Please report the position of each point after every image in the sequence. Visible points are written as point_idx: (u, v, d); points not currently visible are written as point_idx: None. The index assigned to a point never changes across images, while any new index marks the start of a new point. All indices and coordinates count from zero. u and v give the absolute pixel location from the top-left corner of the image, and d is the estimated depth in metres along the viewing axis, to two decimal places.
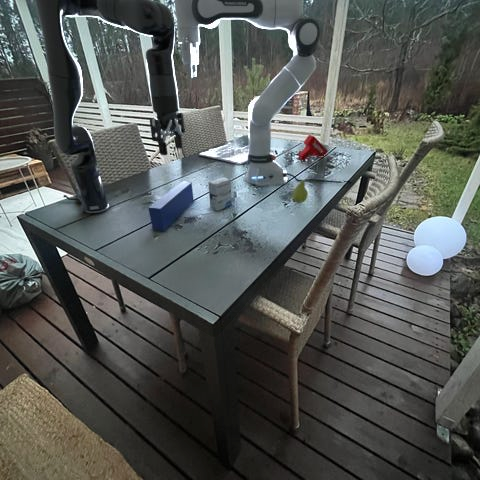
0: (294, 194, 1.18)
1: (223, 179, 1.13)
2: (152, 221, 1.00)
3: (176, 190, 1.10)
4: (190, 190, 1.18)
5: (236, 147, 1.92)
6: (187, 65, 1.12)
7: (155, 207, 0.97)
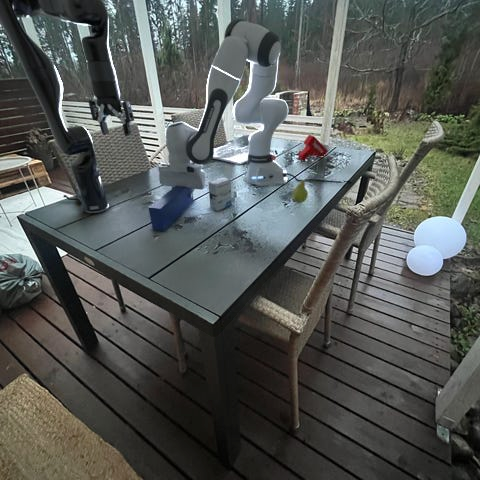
0: (294, 194, 1.18)
1: (223, 179, 1.13)
2: (152, 221, 1.00)
3: (176, 190, 1.10)
4: None
5: (236, 147, 1.92)
6: None
7: (155, 207, 0.97)
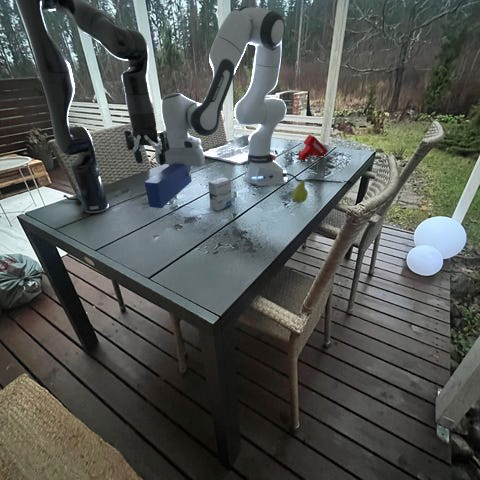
0: (294, 194, 1.18)
1: (223, 179, 1.13)
2: (149, 197, 0.94)
3: (173, 167, 1.05)
4: (188, 168, 1.12)
5: (236, 147, 1.92)
6: None
7: (151, 182, 0.91)
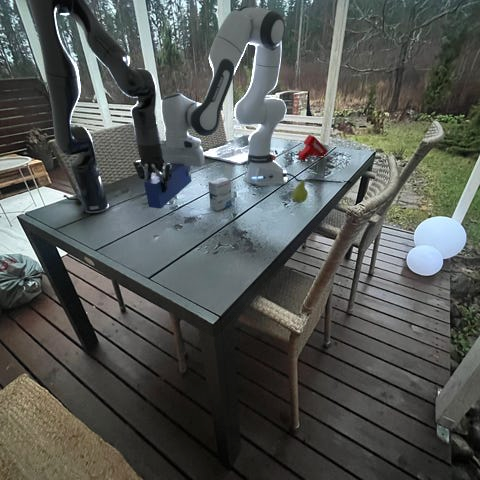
0: (294, 194, 1.18)
1: (223, 179, 1.13)
2: (148, 197, 0.95)
3: (173, 167, 1.05)
4: (188, 168, 1.12)
5: (236, 147, 1.92)
6: None
7: (151, 182, 0.92)
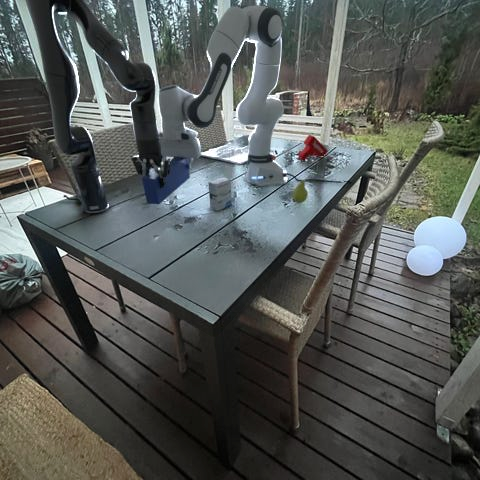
0: (294, 194, 1.18)
1: (223, 179, 1.13)
2: (146, 193, 0.94)
3: (171, 163, 1.04)
4: None
5: (236, 147, 1.92)
6: None
7: (149, 178, 0.91)
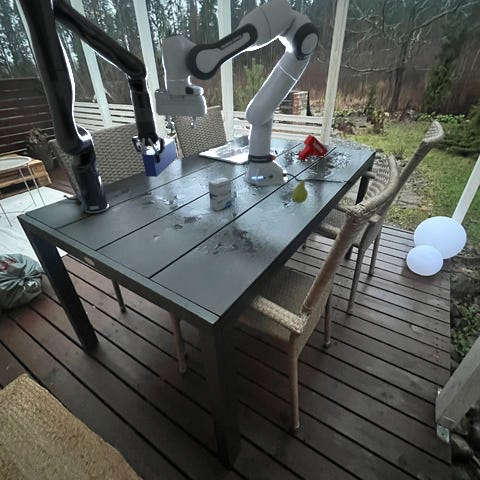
0: (294, 194, 1.18)
1: (223, 179, 1.13)
2: (145, 168, 1.14)
3: None
4: (173, 146, 1.32)
5: (236, 147, 1.92)
6: None
7: (147, 154, 1.11)
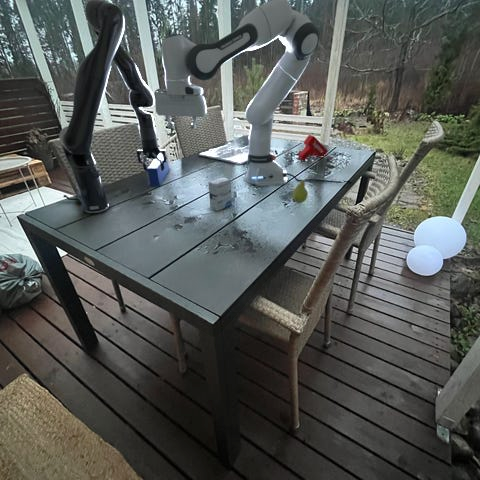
0: (294, 194, 1.18)
1: (223, 179, 1.13)
2: (150, 179, 1.37)
3: None
4: None
5: (236, 147, 1.92)
6: None
7: (152, 168, 1.34)
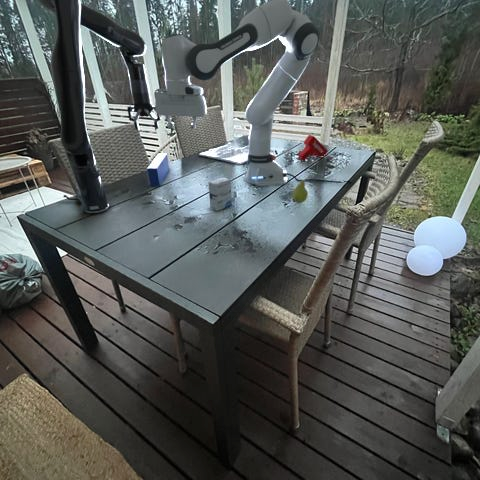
0: (294, 194, 1.18)
1: (223, 179, 1.13)
2: (150, 179, 1.37)
3: (159, 158, 1.48)
4: (166, 159, 1.57)
5: (236, 147, 1.92)
6: None
7: (152, 168, 1.34)
